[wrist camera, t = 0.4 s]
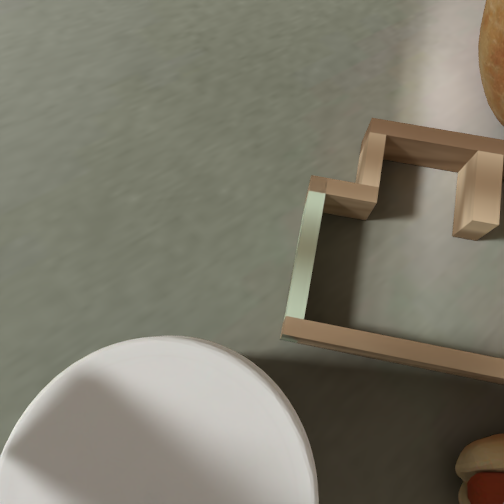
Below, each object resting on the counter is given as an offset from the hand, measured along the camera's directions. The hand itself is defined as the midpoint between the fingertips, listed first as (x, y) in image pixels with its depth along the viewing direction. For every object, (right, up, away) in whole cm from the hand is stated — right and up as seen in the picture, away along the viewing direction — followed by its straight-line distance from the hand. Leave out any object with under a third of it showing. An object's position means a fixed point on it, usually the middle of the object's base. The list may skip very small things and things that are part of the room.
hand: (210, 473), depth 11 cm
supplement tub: (-2, -6, +16) cm, 17 cm away
